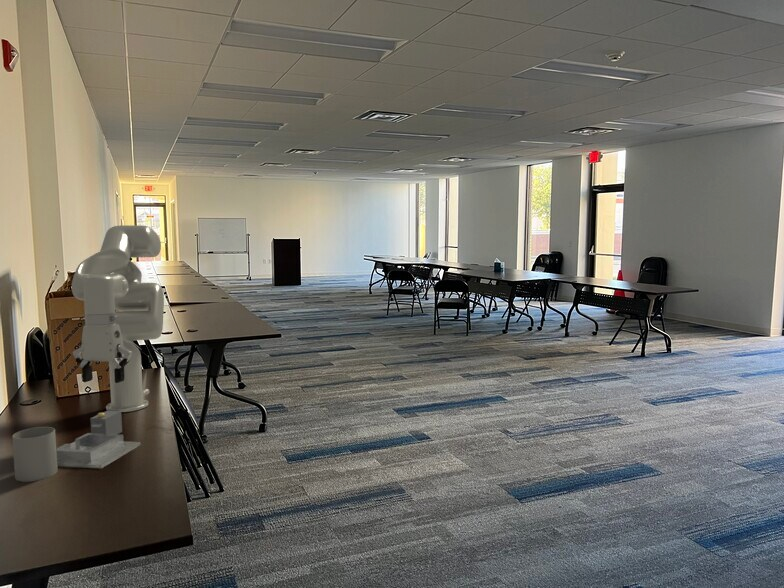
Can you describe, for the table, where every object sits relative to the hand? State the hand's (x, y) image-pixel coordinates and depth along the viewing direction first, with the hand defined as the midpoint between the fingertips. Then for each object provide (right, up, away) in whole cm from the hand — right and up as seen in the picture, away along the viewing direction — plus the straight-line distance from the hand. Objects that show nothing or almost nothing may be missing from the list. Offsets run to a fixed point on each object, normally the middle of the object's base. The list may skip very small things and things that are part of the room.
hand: (103, 381), depth 159 cm
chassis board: (+3, -17, -13) cm, 21 cm away
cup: (-3, -18, -25) cm, 31 cm away
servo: (0, -16, +2) cm, 16 cm away
